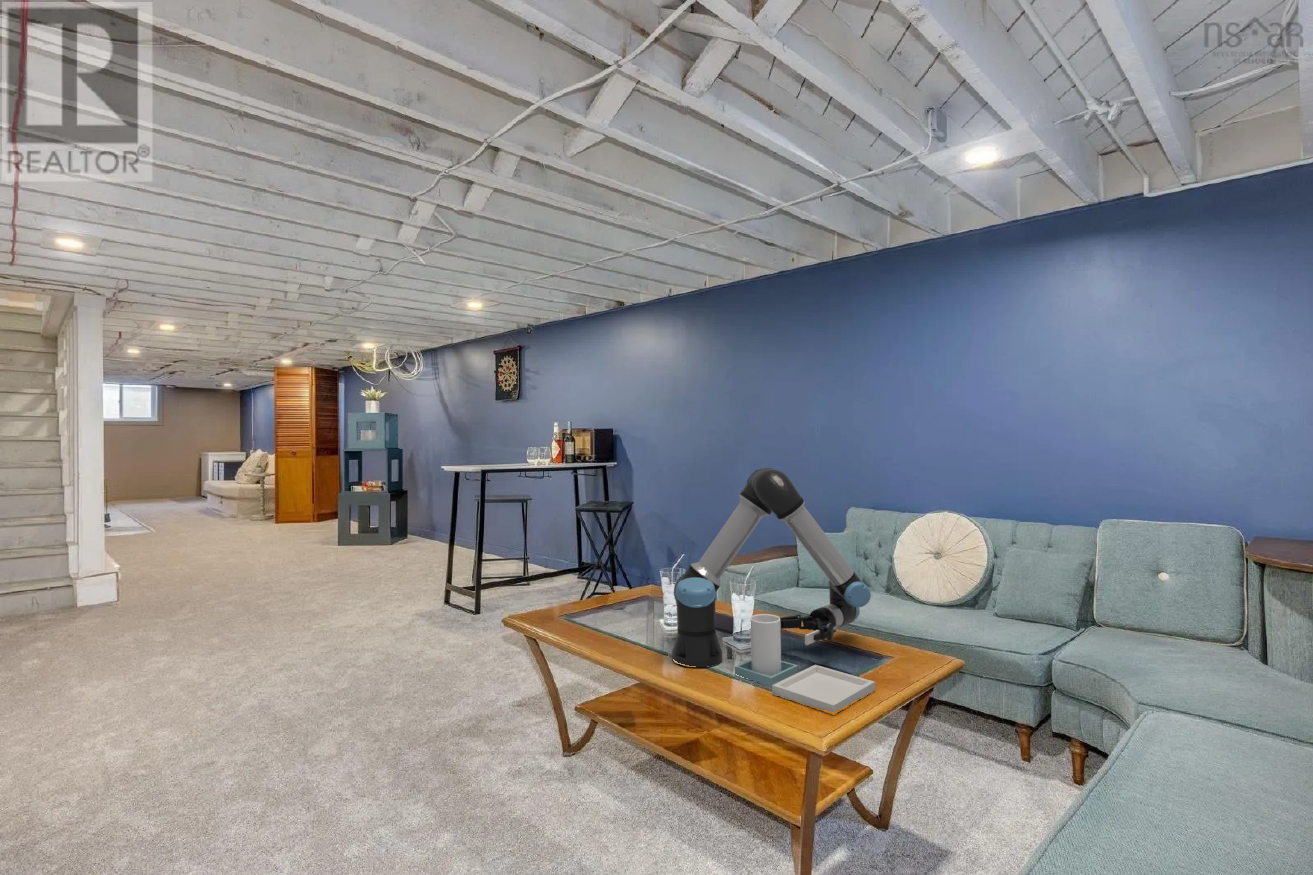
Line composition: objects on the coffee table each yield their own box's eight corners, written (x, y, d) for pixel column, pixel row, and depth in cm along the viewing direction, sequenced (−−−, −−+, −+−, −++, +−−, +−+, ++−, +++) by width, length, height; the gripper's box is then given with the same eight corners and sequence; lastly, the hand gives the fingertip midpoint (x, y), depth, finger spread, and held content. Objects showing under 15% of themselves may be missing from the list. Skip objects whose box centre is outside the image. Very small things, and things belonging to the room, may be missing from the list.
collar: (771, 687, 170) (771, 678, 170) (734, 675, 180) (734, 666, 180) (798, 674, 179) (798, 665, 179) (762, 663, 188) (762, 654, 188)
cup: (750, 669, 184) (748, 614, 183) (778, 669, 183) (777, 613, 183) (753, 680, 175) (752, 622, 175) (783, 680, 175) (782, 622, 175)
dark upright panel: (688, 623, 231) (733, 636, 216) (687, 619, 231) (733, 631, 216) (711, 616, 240) (756, 628, 224) (711, 612, 240) (756, 623, 224)
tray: (834, 715, 153) (833, 705, 153) (772, 694, 166) (772, 685, 166) (875, 691, 166) (874, 681, 166) (815, 673, 179) (815, 664, 179)
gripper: (862, 639, 191) (823, 658, 177) (792, 623, 209) (752, 638, 195) (861, 614, 191) (823, 631, 177) (791, 600, 209) (751, 614, 195)
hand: (785, 635), depth 186 cm, fingers open, 13 cm apart
